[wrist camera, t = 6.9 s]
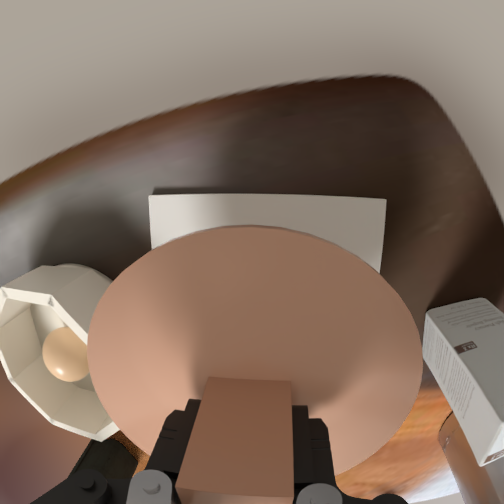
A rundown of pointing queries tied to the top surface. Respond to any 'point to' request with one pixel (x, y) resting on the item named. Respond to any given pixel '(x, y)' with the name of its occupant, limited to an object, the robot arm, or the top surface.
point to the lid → (254, 355)
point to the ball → (65, 355)
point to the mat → (275, 217)
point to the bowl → (35, 332)
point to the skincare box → (470, 370)
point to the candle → (107, 460)
